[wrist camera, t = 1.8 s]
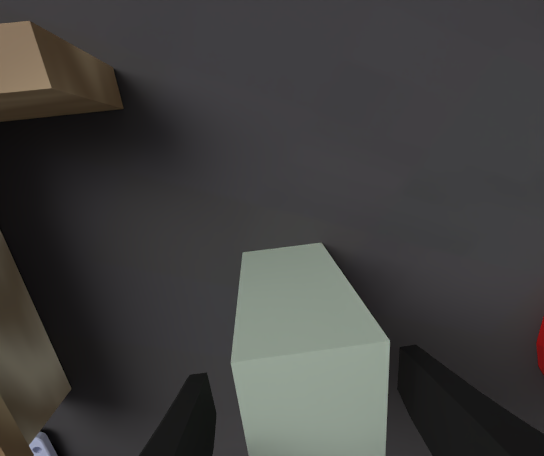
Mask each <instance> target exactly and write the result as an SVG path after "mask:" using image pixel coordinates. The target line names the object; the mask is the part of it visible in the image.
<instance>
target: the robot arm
mask: <svg viewBox="0 0 544 456" xmlns="http://www.w3.org/2000/svg"><path fill="white" fill-rule="evenodd" d="M397 389H398V391H399V393H400V395H401V398H402V400H403V402H404V404H405V406H406V409H407V411H408V413H409V415H410V417H411V419H412V421H413V423H414V424H415V426H416V428H417V430H418V431H419V433H420V435H421V436H422V438H423V440H424V442H425V443H426V445H427V447H428V448H429V450H430V452H431V453H432V455H433V456H544V434H543V433H541V432H540V431H538V430H536V429H535V428H533V427H532V426H530V425H528V424H527V423H525V422H524V421H522V420H521V419H519V418H518V417H516V416H515V415H513V414H512V413H510V412H509V411H507V410H506V409H504V408H503V407H501V406H500V405H498V404H497V403H495V402H494V401H492V400H491V399H489V398H488V397H487V396H485V395H484V394H482V393H481V392H479V391H478V390H477V389H475V388H474V387H472V386H471V385H470V384H468V383H467V382H465V381H464V380H463V379H461V378H460V377H459V376H457V375H456V374H455V373H453V372H452V371H450V370H449V369H448V368H446V367H445V366H444V365H442V364H441V363H440V362H438V361H437V360H436V359H434V358H433V357H432V356H430V355H429V354H428V353H426V352H425V351H424V350H422V349H421V348H420V347H418V346H417V345H411V346H404V347H400V354H399V371H398V388H397ZM215 425H216V410H215V406H214V401H213V397H212V393H211V388H210V384H209V380H208V376H207V373H201V374H193V375H190V376H189V377H188V378H187V380H186V382H185V383H184V385H183V387H182V388H181V390H180V392H179V394H178V395H177V397H176V399H175V400H174V402H173V404H172V405H171V407H170V408H169V410H168V412H167V413H166V415H165V417H164V418H163V420H162V421H161V423H160V424H159V426H158V427H157V429H156V431H155V432H154V434H153V435H152V437H151V438H150V440H149V441H148V443H147V444H146V446H145V447H144V449H143V450H142V452H141V453H140V455H139V456H212V454H213V448H214V438H215ZM29 447H30V449H31V450H32V452H33V454H34V456H58V455H57V453H56V451H55V450H54V448H53V446H52V444H51V442H50V440H49V438H48V436H47V435H46V434H45V433H44V432H39V433H38V434H37V436H36V437H35V438H34V440H33V441H32V442H31V444H30V445H29Z"/></svg>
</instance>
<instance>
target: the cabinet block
mask: <svg viewBox="0 0 544 456" xmlns="http://www.w3.org/2000/svg"><path fill="white" fill-rule="evenodd" d="M389 354H390V340H389V339H388V337H387V336H386V334H385V333H384V332H383V330H382V329H381V327H380V326H379V324H378V323H377V322H376V320H375V319H374V317H373V316H372V314H371V313H370V312H369V310H368V309H367V307H366V306H365V304H364V303H363V302H362V300H361V299H360V297H359V296H358V294H357V293H356V292H355V290H354V289H353V287H352V286H351V284H350V283H349V281H348V280H347V279H346V277H345V276H344V274H343V273H342V271H341V270H340V269H339V267H338V266H337V264H336V263H335V261H334V260H333V259H332V257H331V256H330V254H329V253H328V251H327V250H326V249H325V247H324V246H323V244H322V243H316V244H308V245H299V246H291V247H283V248H275V249H267V250H259V251H251V252H243V255H242V264H241V273H240V282H239V291H238V301H237V310H236V319H235V328H234V338H233V347H232V356H231V366H232V371H233V377H234V382H235V387H236V392H237V397H238V402H239V407H240V413H241V418H242V423H243V428H244V433H245V438H246V444H247V449H248V454H249V456H385V451H386V427H387V402H388V378H389Z"/></svg>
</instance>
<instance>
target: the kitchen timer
mask: <svg viewBox="0 0 544 456" xmlns="http://www.w3.org/2000/svg"><path fill="white" fill-rule="evenodd" d="M537 356H538V366H539V368H540V370H541V372H542V373H543V375H544V317H543V321H542V324H541V328H540V332H539V335H538V339H537Z"/></svg>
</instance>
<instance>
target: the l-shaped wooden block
mask: <svg viewBox="0 0 544 456" xmlns="http://www.w3.org/2000/svg"><path fill="white" fill-rule="evenodd" d="M118 109H124V108H123V104H122V100H121V97H120V93H119V89H118V85H117V81H116V77H115V73H114V69H113V67H111V66H109V65H107V64H106V63H104V62H102V61H100V60H99V59H97V58H95V57H93V56H91V55H90V54H88V53H86V52H84V51H82V50H81V49H79V48H77V47H75V46H73V45H72V44H70V43H68V42H66V41H65V40H63V39H61V38H59V37H57V36H56V35H54V34H52V33H50V32H48V31H47V30H45V29H43V28H41V27H39V26H38V25H36V24H34V23H32V22H30V21H24V22H14V23H3V24H0V122H3V121H13V120H23V119H32V118H42V117H51V116H61V115H70V114H80V113H89V112H99V111H108V110H118ZM70 390H71V386H70V384H69V382H68V380H67V378H66V375H65V373H64V371H63V369H62V366H61V364H60V362H59V360H58V358H57V355H56V353H55V351H54V349H53V346H52V344H51V342H50V340H49V337H48V335H47V333H46V331H45V329H44V326H43V324H42V322H41V320H40V317H39V315H38V313H37V311H36V308H35V306H34V304H33V302H32V300H31V297H30V295H29V293H28V291H27V288H26V286H25V284H24V282H23V280H22V277H21V275H20V273H19V271H18V268H17V266H16V264H15V262H14V259H13V257H12V255H11V253H10V251H9V248H8V246H7V244H6V242H5V239H4V237H3V235H2V233H1V231H0V456H34V454H33V452H32V450H31V449H30V447H29V445H30V444H31V442H32V441H33V440H34V438H35V437H36V436H37V434H38V433H39V432H40V430H41V429H42V428H43V426H44V425H45V424H46V422H47V421H48V420H49V418H50V417H51V416H52V414H53V413H54V412H55V410H56V409H57V408H58V406H59V405H60V404H61V402H62V401H63V400H64V398H65V397H66V396H67V394H68V393H69V392H70Z"/></svg>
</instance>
